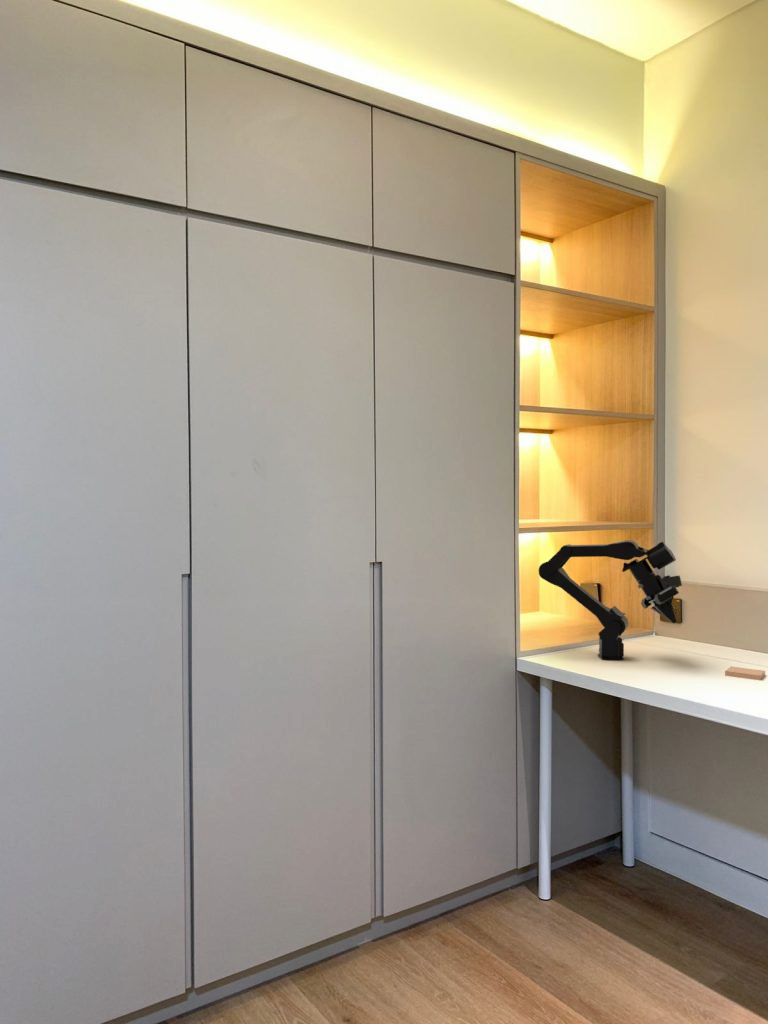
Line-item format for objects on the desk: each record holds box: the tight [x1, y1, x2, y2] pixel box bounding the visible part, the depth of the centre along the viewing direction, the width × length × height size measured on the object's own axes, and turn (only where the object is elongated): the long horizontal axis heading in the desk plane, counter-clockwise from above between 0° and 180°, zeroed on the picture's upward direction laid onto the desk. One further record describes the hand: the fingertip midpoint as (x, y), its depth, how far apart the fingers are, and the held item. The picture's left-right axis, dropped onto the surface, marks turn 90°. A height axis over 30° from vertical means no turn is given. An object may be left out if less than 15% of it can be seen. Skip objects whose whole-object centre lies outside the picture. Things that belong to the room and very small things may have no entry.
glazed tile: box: [724, 665, 766, 681], centre depth 217 cm, size 2×7×9 cm
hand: (674, 622), depth 231 cm, fingers closed
